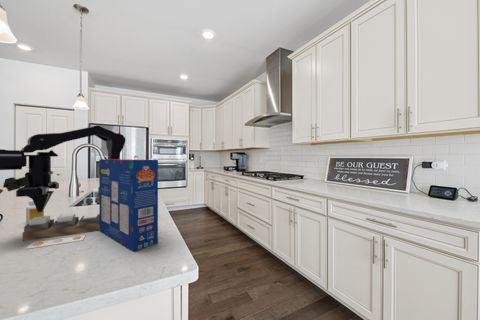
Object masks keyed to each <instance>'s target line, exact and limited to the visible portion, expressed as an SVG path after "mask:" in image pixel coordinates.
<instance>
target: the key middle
mask: <svg viewBox="0 0 480 320" xmlns="http://www.w3.org/2000/svg"><path fill="white" fill-rule="evenodd" d="M75 217H76V212H74V213H73V212H72V213H65V214H60V215H59V216H57V217H56V220H57V223H58V222H66V221H74V220H75Z"/></svg>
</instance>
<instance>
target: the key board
mask: <svg viewBox="0 0 480 320" xmlns="http://www.w3.org/2000/svg"><path fill="white" fill-rule="evenodd" d="M97 214H98V213H97ZM84 216H85V215H82V217H81V218H80V217H79V216H75V220H74V221H66V222H58V223H57V219H56V220H55V218H53V219H50V222H48V223H47V224H40V225H31V226H29V224H27V223H26V225H24V226H23V232H22V242H26V241H27V242H29V241H33V240H39V239H40V240H41V239H48V238H55V237H62V236H69V235H78V234H83V233H92V232H93V233H94V232H100V231H99V214H98V218H93V219H84V220H83V217H84Z"/></svg>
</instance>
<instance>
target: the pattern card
mask: <svg viewBox="0 0 480 320" xmlns="http://www.w3.org/2000/svg"><path fill="white" fill-rule="evenodd" d="M85 238H86V234H84V235H76V236H69V237H63V238H62V237H61V238H56V239H48V240H41V241H40V240H39V241H34V242H32V243H30V244H29V245H28V246H27V247H26V248H25V249H26V250H31V249H37V248H44V247H50V246H51V247H52V246H58V245H64V244H70V243H76V242H82V241H84V239H85Z"/></svg>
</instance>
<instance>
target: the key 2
mask: <svg viewBox="0 0 480 320" xmlns="http://www.w3.org/2000/svg"><path fill="white" fill-rule="evenodd" d="M83 216H84V217H83ZM83 216H82V217H83V220H84V219H93V218H98V213H95V214H94V213H93V214H85V215H83Z"/></svg>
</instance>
